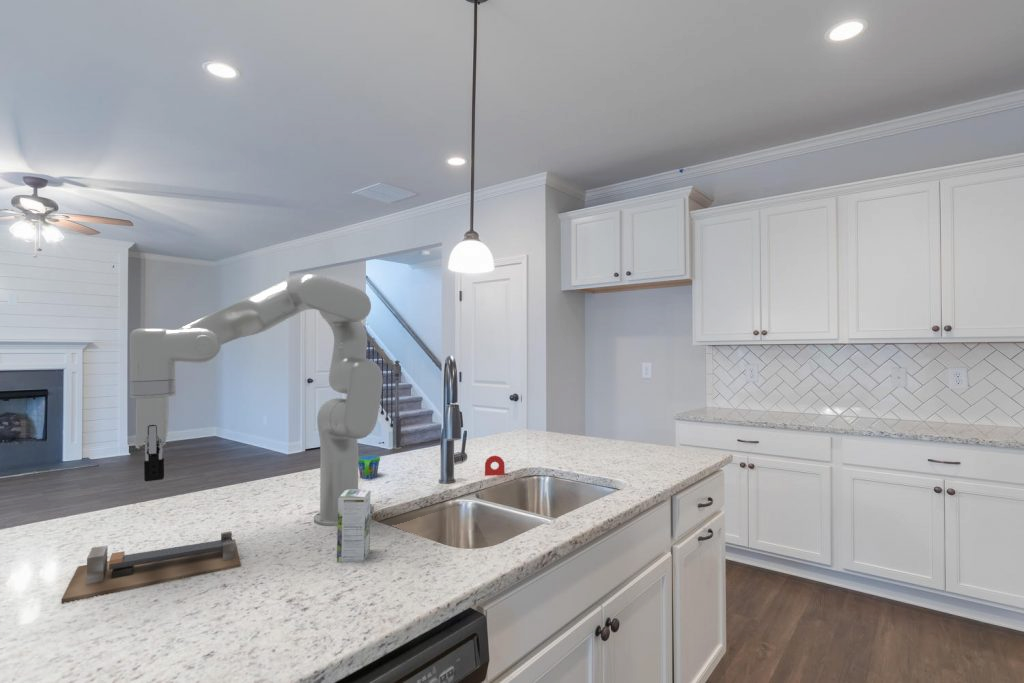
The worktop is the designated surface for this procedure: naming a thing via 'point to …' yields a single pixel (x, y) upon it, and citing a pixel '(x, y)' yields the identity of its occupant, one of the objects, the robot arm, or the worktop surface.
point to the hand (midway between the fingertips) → (154, 479)
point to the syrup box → (353, 525)
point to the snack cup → (368, 466)
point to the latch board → (144, 571)
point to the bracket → (494, 471)
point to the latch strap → (165, 554)
